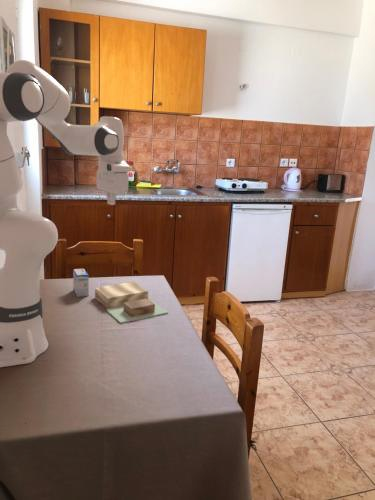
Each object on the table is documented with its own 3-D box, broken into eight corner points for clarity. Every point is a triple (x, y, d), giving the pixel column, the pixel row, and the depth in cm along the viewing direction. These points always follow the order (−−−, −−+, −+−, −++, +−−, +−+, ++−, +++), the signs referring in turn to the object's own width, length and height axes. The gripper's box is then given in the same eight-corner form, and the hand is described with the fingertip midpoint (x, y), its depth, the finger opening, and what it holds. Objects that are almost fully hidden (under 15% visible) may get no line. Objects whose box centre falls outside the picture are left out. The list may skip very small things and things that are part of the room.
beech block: (107, 308, 145) (107, 298, 144) (95, 297, 155) (95, 287, 154) (148, 301, 154) (148, 291, 153) (133, 291, 163) (133, 281, 162)
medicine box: (73, 290, 161) (72, 269, 159) (84, 289, 163) (84, 268, 161) (77, 297, 154) (76, 275, 152) (89, 296, 156) (88, 274, 154)
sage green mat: (120, 323, 134) (120, 322, 134) (106, 310, 144) (106, 309, 144) (168, 313, 144) (168, 312, 144) (151, 301, 153) (151, 300, 153)
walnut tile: (123, 302, 142) (123, 310, 143) (131, 308, 137) (131, 317, 138) (146, 298, 147) (146, 306, 148) (154, 304, 142) (154, 312, 143)
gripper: (91, 163, 151) (92, 200, 155) (114, 167, 135) (114, 209, 138) (107, 163, 155) (108, 199, 158) (132, 167, 138) (131, 208, 142)
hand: (111, 204), depth 148 cm, fingers closed
